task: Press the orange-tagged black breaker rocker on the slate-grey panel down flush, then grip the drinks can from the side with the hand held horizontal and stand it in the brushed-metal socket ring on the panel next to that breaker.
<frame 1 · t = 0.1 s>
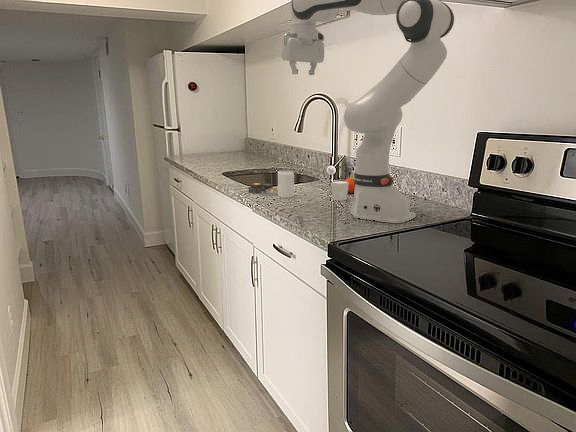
hand: (303, 74, 168), 48 cm above the worktop, tool pointing down, fingers open, 8 cm apart
can: (286, 199, 185), on the worktop
socket: (275, 192, 192), resting on panel
white cup: (339, 199, 183), on the worktop
panel: (269, 195, 193), on the worktop
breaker: (256, 186, 192), point 4 cm above the worktop, slide at 0.0 cm
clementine: (352, 193, 194), on the worktop
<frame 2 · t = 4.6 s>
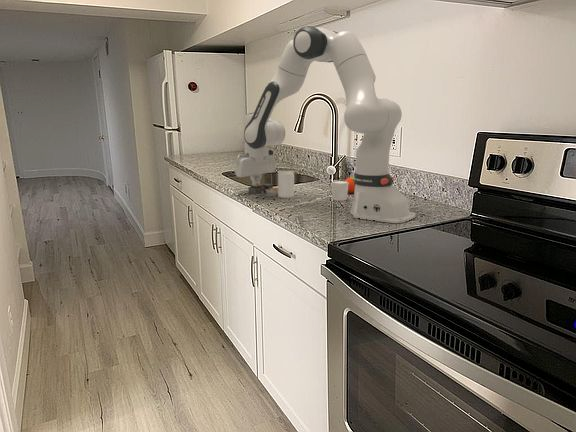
hand: (256, 185, 192), 4 cm above the worktop, tool pointing down, fingers closed, pressing on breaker
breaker: (256, 187, 193), point 3 cm above the worktop, slide at 0.6 cm, touching gripper
everything else where it was.
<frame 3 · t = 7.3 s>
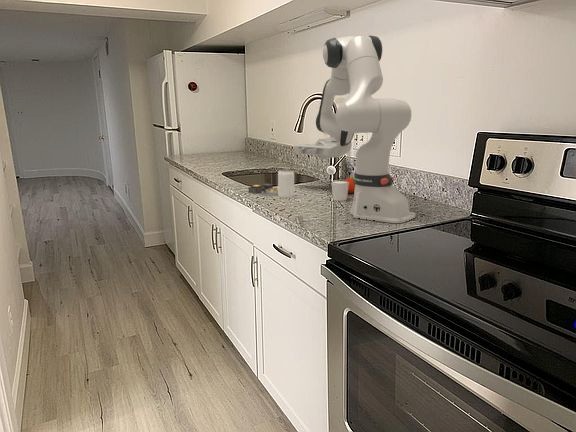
hand: (303, 151, 189), 18 cm above the worktop, tool horizontal, fingers closed
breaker: (256, 188, 193), point 3 cm above the worktop, slide at 0.7 cm
everything else where it was.
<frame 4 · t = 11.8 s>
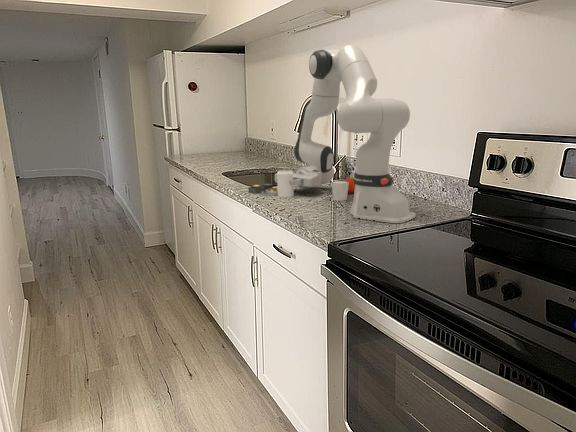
hand: (283, 181, 183), 7 cm above the worktop, tool horizontal, fingers open, 6 cm apart
can: (285, 199, 185), on the worktop, touching gripper
everything else where it was.
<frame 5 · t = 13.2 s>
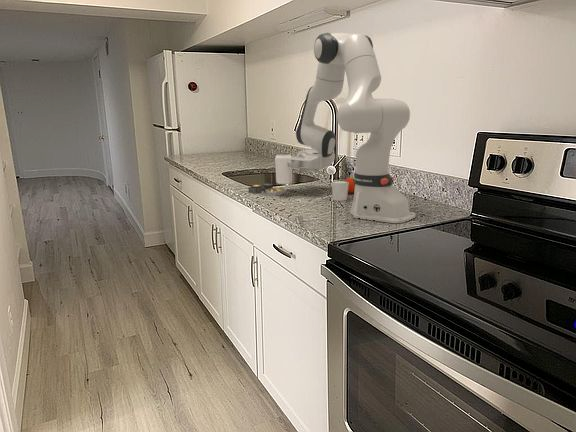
hand: (283, 164, 181), 14 cm above the worktop, tool horizontal, fingers closed on can, 4 cm apart
can: (284, 183, 184), point 6 cm above the worktop, touching gripper
everything else where it was.
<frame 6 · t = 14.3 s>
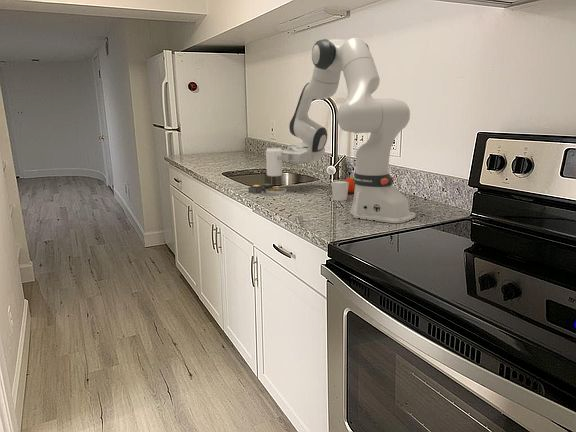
hand: (273, 157, 187), 16 cm above the worktop, tool horizontal, fingers closed on can, 4 cm apart
can: (274, 175, 191), point 8 cm above the worktop, touching gripper
everything else where it was.
when the fingers open (10 cm above the worktop, at t = 15.7 s): can stays where it is, resting on socket.
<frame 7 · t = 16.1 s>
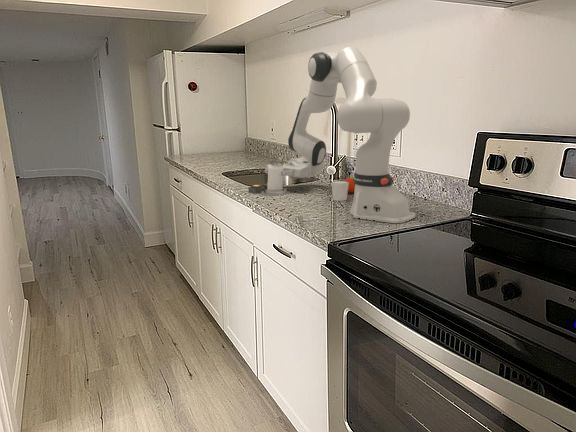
hand: (274, 172, 189), 10 cm above the worktop, tool horizontal, fingers open, 8 cm apart
can: (274, 190, 192), point 2 cm above the worktop, touching socket
everything else where it was.
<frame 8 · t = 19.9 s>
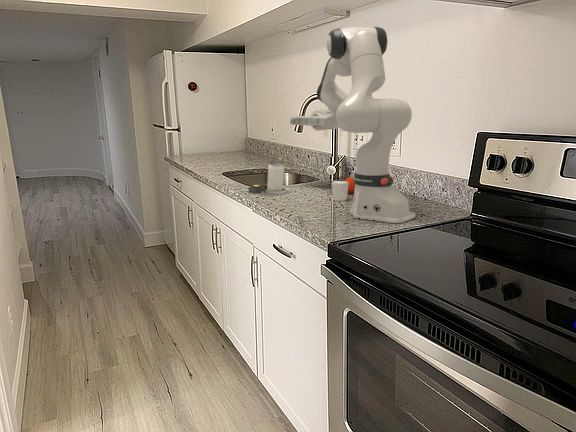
hand: (299, 121, 192), 30 cm above the worktop, tool horizontal, fingers open, 8 cm apart
nothing on the worktop moved.
at the end: can 0.9 cm from the socket (horizontally); can tilted 12°; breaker slide at 0.7 cm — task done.
